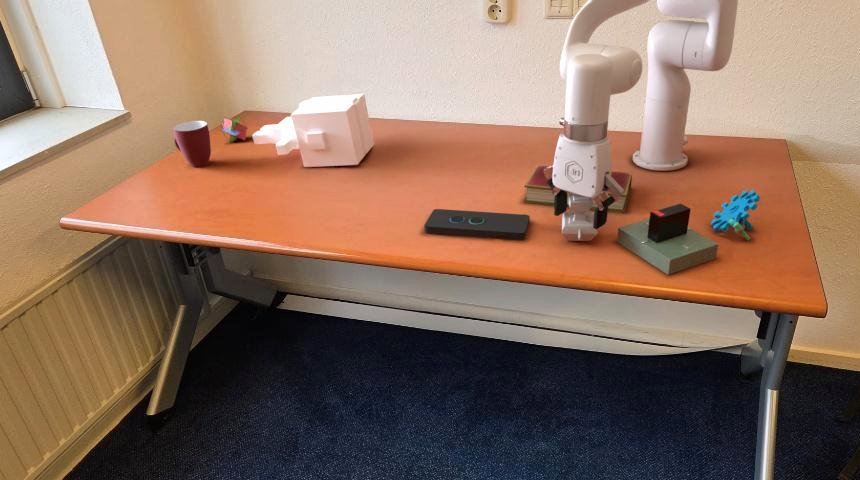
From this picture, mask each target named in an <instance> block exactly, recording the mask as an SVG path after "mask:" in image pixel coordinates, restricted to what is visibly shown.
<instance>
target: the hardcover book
mask: <svg viewBox="0 0 860 480" xmlns="http://www.w3.org/2000/svg"><path fill="white" fill-rule="evenodd" d="M550 166H551V165H538V164H536V166H535V167H534V169H533V170H532V172H531V173H530V175H529V177H528V179H527V180H526V182H525V184H524V188H526V197H525V199H524V201H523V203H525V204H533V205H534V204H535V205H544V206H552V207H554V195H553V194H552V189H551V188H550V186H549V185H548V183H547V181H548V180H547V179H546V177H545V175H544V172H543V170H544V169H546V168H548V167H550ZM611 177H612V178H613V179H614V180H615V181H616V182H617V183H618V184H619V185H620V186H621V187H622V188H623V189H624V193H623V194H622V195H621V196H620V197H619V198H618V200H617V201H615V202H614V203H613V204H611V205H610V206H608V212H615V213H626V209H627V204H628V200H629V198H630V194H631V189H632V181H633V180H632V178H633V173H632V172H622V171H612V170H611ZM565 192H567V194H568V196H569V194H574V193H571V192H568V191H565ZM607 193H608V195H609V197H610V196H611V194H612V191H611V190H610V189H609V190H608V191H607ZM568 196H567V208H570V206H569V203H568ZM600 197H601V195H600ZM601 199H602V197H601ZM602 201H603V199H602ZM596 208H598V207H597V205H596V203H595V201H594V198H593V207H592V208H590V210H594V211H595V209H596Z"/></svg>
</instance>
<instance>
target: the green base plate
mask: <svg viewBox="0 0 860 480" xmlns="http://www.w3.org/2000/svg"><path fill="white" fill-rule="evenodd" d="M649 220H650V218H647V219H644V220H641V221H637V222H634V223H629V224H626V225H623V226H621V227H618V229H617V238H616V243H618V244H619V245H621V246H623V247H624V248H626V249H627V250H629V251H630V252H632V253H634V254H635V255H637V256H638V257H639V258H641V259H642V260H644V261H646V262H647V263H649V264H651V265H652V266H654V267H655V268H657V269H658V270H659V271H662V272H663V273H665V274H666V275H668V276H669V275H672V274H675V273H678V272H680V271H683V270H686V269H689V268H692V267H695V266H699V265H701V264H705V263H707V262H709V261H713V260H715V259H716V258H717V255H718V248H719V243H717V242H716V241H714V240H712V239H710V238H708V237H707V236H705V235H703V234H701V233H699V232H698V231H695V230H694V229H692V227H689V226H688V229H687V234H683V235H680V236H677V237H674V238H671V239H668V240H665V241H662V242H658V243H656V242H654V241H653V240H651V239H649V238H648V237H647V236H648V228H649Z"/></svg>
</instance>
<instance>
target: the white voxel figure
mask: <svg viewBox="0 0 860 480" xmlns="http://www.w3.org/2000/svg"><path fill="white" fill-rule="evenodd" d="M251 136H252V140H253V143H254V145H266V144H275V145H274V146H275V151H276V153H277V156H282V155H289V153H290V152H291V151H293V150H299V153H300V157H301V161H302V165H303V168H312V167H313V168H314V167H315V168H317V167H318V168H319V167H335V166H336V167H337V166H357V165H359V164H360V162H361V161H362V160H364V157H366V155H367V154H368V152H369V151H370V150H371V149H372V147H373V146H374V145H375V143H374V137H373V132H372V126H371V122H370V117H369V111H368V106H367V101H366V95H365V93H354V94H341V95H325V96H312V97H310V98H309V99H307V100H302V101H300V103H298V108H297V109H296V110H294V111H293V112H292V113H291V114H290V116H286V117H284V119H282V120H281V121H280V122H278V124H277V123H276V124H265V125H263V126H262V127H260V129H259V130H257V131H255V132H254V133H253V134H252V135H251Z"/></svg>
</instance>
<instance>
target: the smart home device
mask: <svg viewBox="0 0 860 480" xmlns="http://www.w3.org/2000/svg"><path fill="white" fill-rule="evenodd" d="M530 223H531V216H530V215H529V214H519V213H508V212H507V213H506V212H493V211H492V212H491V211H475V210H461V209H459V210H458V209H447V208H446V209H445V208H435V209H433V210H432V211H431V213H430V215H429V216H428V218H427V220H426V221H425V223H424V225H423V226H424V227H423V228H424V233H425V234H431V235H432V234H433V235H445V236H456V237H457V236H459V237H469V238H470V237H473V238H484V239H485V238H486V239H497V240H498V239H499V240H510V241H512V240H513V241H524V240H525V239H526V236H527V233H528V230H529V226H530Z"/></svg>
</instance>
